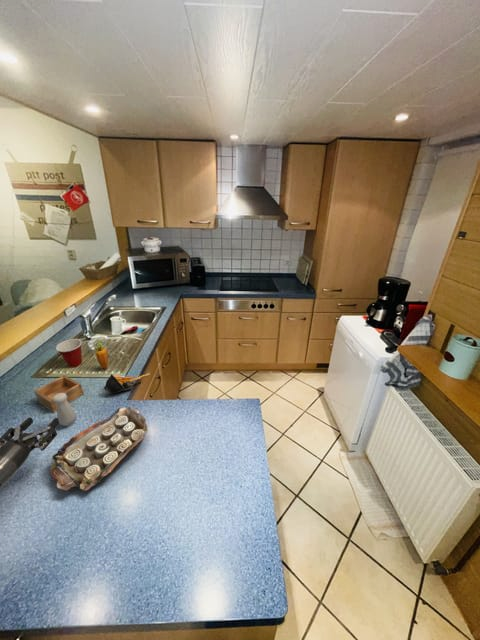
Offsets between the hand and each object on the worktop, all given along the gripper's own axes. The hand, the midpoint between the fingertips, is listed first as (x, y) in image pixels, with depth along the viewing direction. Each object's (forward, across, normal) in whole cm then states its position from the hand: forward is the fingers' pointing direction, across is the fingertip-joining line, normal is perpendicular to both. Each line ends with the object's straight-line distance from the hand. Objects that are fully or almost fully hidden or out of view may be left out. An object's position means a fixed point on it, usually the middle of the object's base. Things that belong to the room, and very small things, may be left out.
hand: (44, 419), depth 82 cm
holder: (+21, +11, +10) cm, 26 cm away
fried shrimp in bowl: (+28, -14, +11) cm, 34 cm away
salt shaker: (+8, 0, +11) cm, 14 cm away
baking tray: (-4, -20, +11) cm, 23 cm away
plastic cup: (+46, +20, +11) cm, 51 cm away
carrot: (+42, +2, +11) cm, 43 cm away
